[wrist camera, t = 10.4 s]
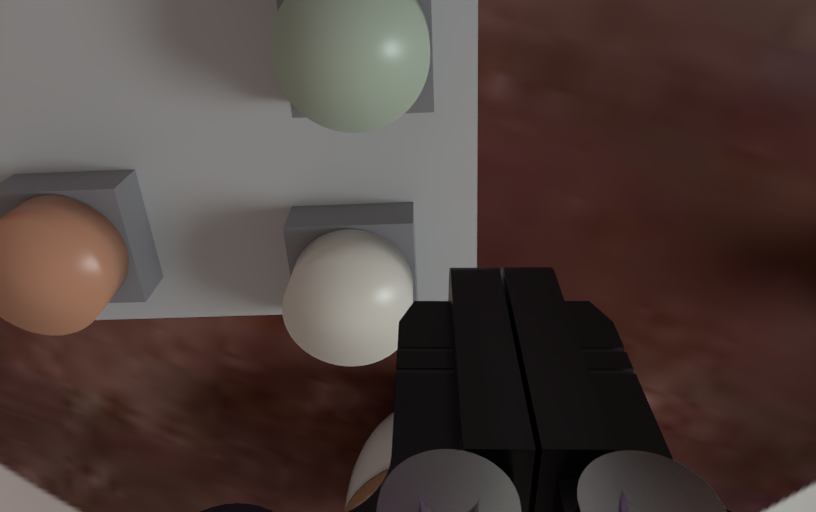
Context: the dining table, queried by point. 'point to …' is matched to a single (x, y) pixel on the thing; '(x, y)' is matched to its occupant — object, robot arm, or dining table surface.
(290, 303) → the ivory button
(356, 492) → the lidded jar
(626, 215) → the dining table surface
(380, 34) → the sage button
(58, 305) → the rust button
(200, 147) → the panel
